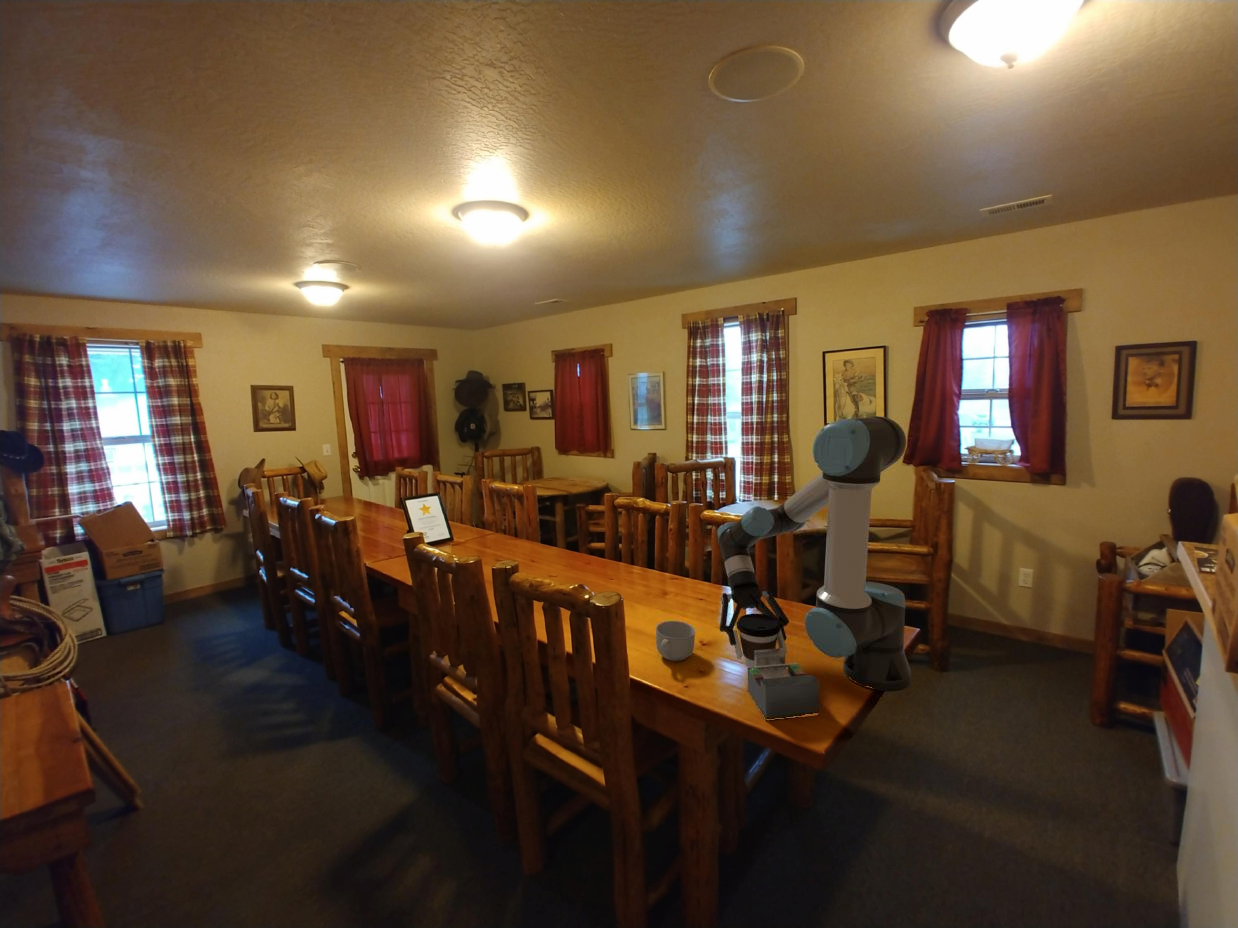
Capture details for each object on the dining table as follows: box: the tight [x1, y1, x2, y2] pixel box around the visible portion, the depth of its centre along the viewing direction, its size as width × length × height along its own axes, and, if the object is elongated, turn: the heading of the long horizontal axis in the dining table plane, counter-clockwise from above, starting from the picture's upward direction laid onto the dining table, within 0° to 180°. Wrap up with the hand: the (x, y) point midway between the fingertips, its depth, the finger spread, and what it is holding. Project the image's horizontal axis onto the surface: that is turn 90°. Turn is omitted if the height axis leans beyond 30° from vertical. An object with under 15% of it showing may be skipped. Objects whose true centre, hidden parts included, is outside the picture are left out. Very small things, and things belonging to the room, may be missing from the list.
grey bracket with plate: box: [752, 647, 799, 679], centre depth 122 cm, size 6×11×8 cm, turn 95°
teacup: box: [655, 620, 696, 662], centre depth 140 cm, size 14×11×8 cm
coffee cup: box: [736, 613, 780, 669], centre depth 131 cm, size 11×11×12 cm
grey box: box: [747, 664, 820, 720], centre depth 117 cm, size 12×12×8 cm
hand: (762, 655), depth 129 cm, fingers closed on coffee cup, 11 cm apart
